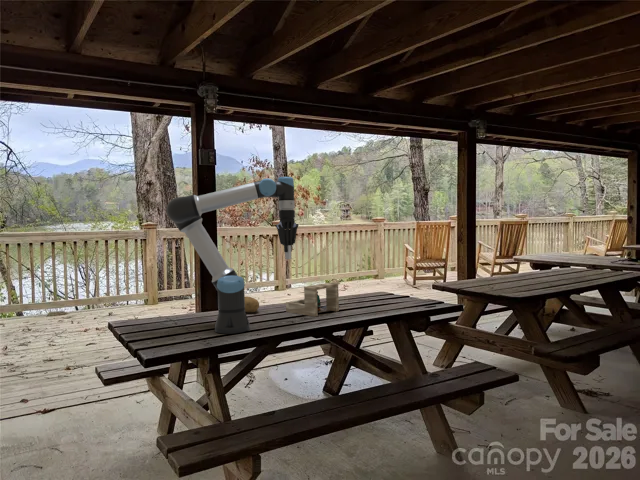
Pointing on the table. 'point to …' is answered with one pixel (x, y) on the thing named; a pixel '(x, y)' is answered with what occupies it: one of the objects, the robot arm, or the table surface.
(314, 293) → the tunnel
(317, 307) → the binoculars
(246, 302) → the potato
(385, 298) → the table surface
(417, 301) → the table surface
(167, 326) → the table surface
